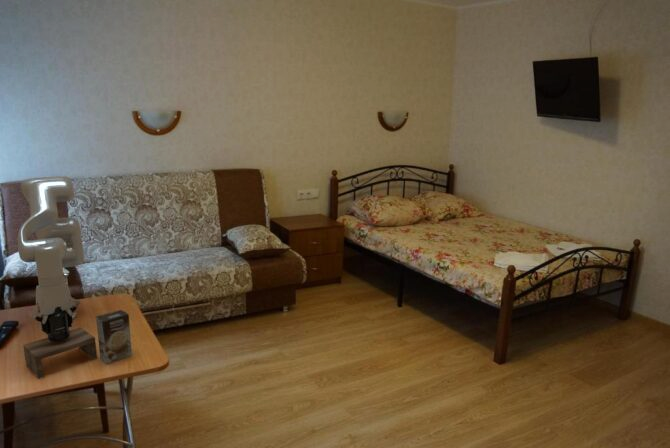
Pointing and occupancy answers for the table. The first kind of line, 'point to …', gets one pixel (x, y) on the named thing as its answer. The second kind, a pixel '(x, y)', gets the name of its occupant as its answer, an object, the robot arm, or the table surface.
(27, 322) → the table surface
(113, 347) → the coffee box
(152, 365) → the table surface
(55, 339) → the supplement bottle
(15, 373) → the table surface
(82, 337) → the walnut shelf
